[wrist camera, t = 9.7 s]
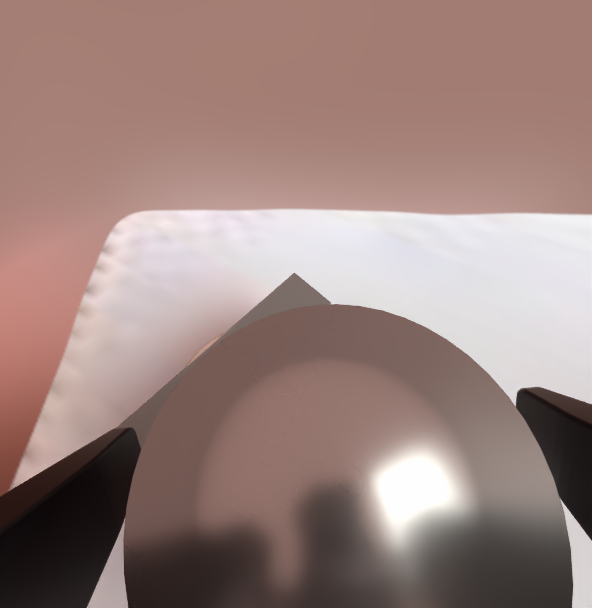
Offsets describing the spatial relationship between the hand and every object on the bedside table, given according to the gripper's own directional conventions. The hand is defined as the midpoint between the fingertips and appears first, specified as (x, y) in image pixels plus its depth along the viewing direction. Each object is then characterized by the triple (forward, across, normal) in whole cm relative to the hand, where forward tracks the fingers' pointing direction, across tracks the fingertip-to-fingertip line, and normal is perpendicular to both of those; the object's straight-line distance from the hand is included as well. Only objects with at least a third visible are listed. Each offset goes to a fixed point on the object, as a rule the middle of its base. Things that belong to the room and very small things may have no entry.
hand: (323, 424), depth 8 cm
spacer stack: (+5, 0, +7) cm, 8 cm away
